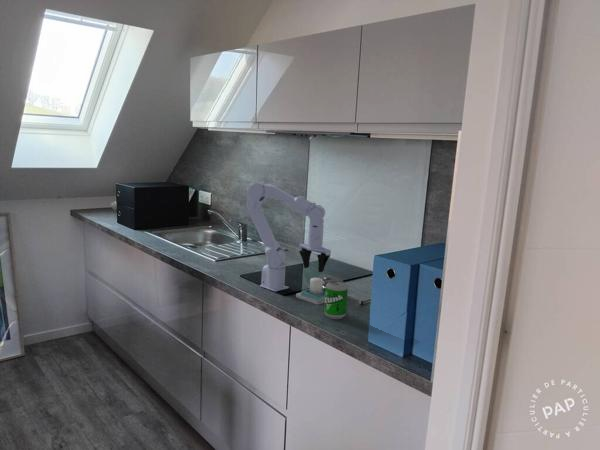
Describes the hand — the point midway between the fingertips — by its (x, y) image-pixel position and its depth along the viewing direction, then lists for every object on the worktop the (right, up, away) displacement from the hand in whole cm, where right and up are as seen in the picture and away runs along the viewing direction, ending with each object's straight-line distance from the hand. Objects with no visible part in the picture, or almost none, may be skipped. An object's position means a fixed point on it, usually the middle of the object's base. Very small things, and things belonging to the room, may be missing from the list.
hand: (313, 269), depth 183 cm
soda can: (+7, -14, -24) cm, 29 cm away
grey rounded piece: (+1, -9, -6) cm, 11 cm away
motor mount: (+3, -10, -3) cm, 11 cm away
